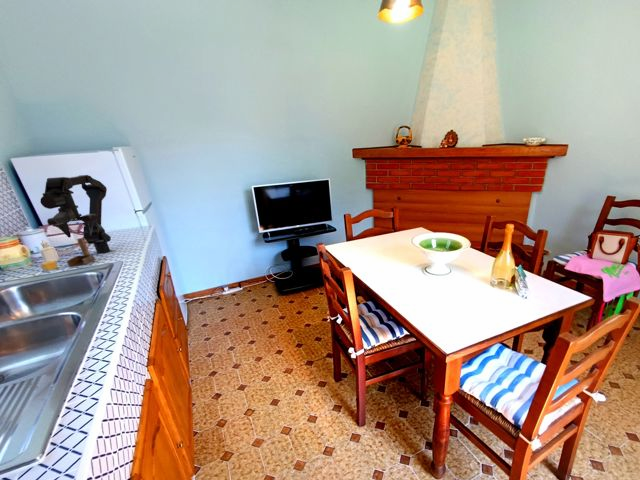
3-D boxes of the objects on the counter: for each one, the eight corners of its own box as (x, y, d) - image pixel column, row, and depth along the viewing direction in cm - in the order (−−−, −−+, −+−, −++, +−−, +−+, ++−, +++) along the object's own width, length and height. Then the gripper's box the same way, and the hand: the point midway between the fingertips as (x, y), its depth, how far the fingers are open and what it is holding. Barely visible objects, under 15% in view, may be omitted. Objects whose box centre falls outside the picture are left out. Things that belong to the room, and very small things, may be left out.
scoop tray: (83, 261, 152) (73, 238, 148) (98, 259, 153) (89, 237, 149) (69, 268, 143) (59, 244, 139) (86, 266, 144) (76, 243, 140)
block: (39, 263, 139) (43, 271, 141) (45, 264, 138) (48, 272, 140) (50, 260, 143) (53, 268, 144) (55, 261, 142) (58, 269, 143)
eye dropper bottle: (60, 262, 153) (50, 239, 148) (45, 265, 149) (34, 242, 145) (60, 259, 156) (50, 238, 151) (45, 263, 152) (35, 240, 148)
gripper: (30, 209, 133) (46, 243, 138) (77, 206, 135) (90, 239, 141) (50, 205, 143) (63, 236, 149) (92, 202, 145) (104, 232, 151)
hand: (80, 236), depth 147 cm, fingers open, 9 cm apart
